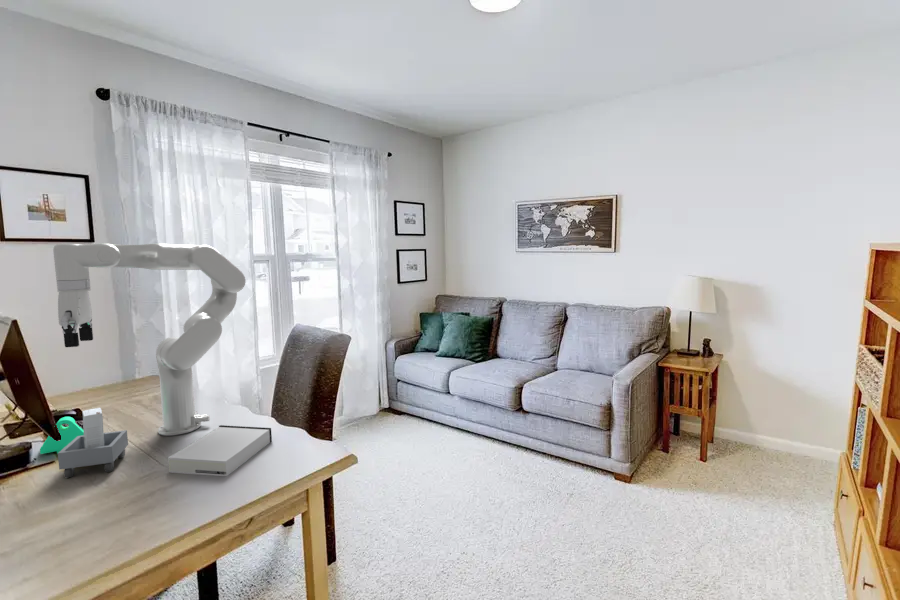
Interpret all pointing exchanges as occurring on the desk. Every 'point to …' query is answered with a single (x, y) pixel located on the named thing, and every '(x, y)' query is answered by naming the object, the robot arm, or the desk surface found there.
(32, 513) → the desk surface
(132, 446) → the desk surface
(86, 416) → the skincare box
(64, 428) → the camera mount
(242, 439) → the disc drive
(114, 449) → the grey square tray
